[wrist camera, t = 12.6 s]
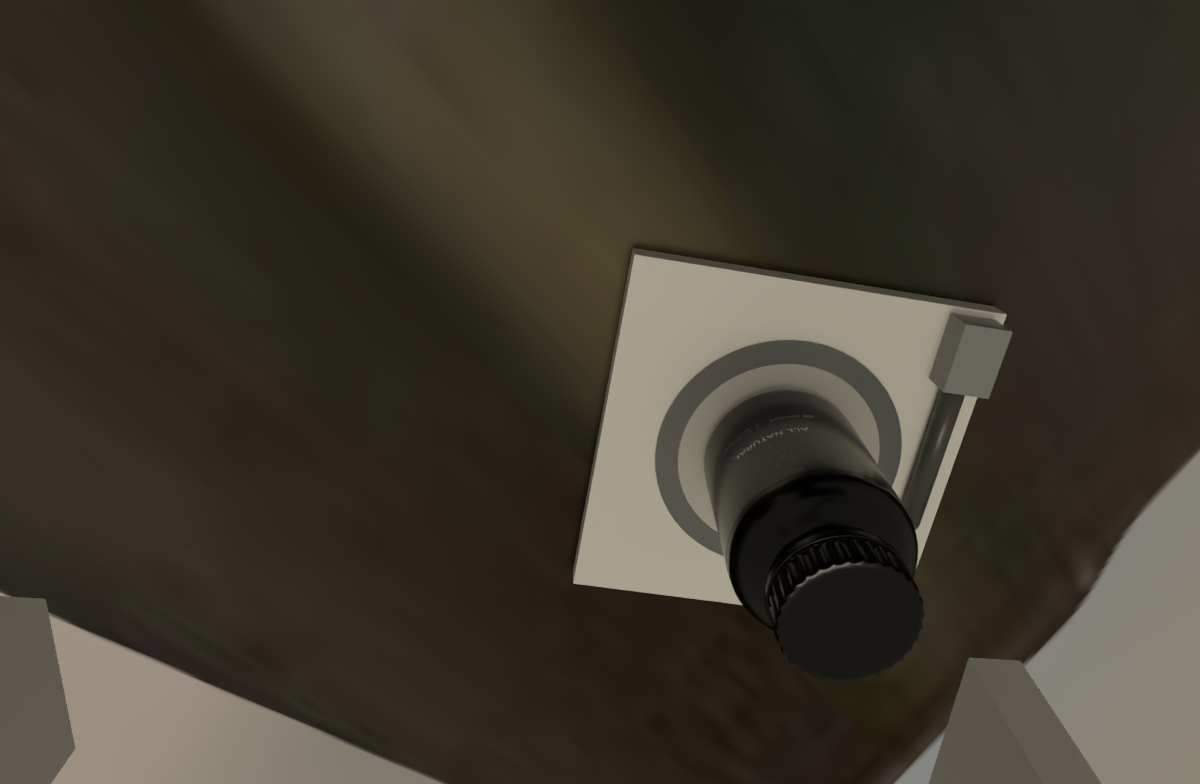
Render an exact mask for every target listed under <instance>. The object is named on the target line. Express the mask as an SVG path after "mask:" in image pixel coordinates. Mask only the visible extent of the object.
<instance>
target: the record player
mask: <svg viewBox="0 0 1200 784" xmlns="http://www.w3.org/2000/svg"><path fill="white" fill-rule="evenodd" d="M1006 315H1007V314H1005V313H1004V312H1002V311H1001V310H999V309H997V308H996V307H994V306H989V305H983V304H976V303H970V302H964V301H958V300H952V299H946V298H939V297H933V296H927V295H921V294H915V293H908V292H902V291H896V290H890V289H884V288H878V287H871V286H865V285H859V284H853V283H847V282H841V281H834V280H828V279H822V278H816V277H810V276H804V275H797V274H791V273H785V272H779V271H773V270H766V269H760V268H754V267H748V266H742V265H736V264H729V263H723V262H717V261H711V260H705V259H699V258H692V257H686V256H680V255H674V254H668V253H662V252H655V251H649V250H643V249H637V248H633V249H632V254H631V259H630V265H629V270H628V276H627V281H626V286H625V292H624V297H623V303H622V308H621V313H620V319H619V324H618V330H617V335H616V340H615V346H614V351H613V357H612V362H611V367H610V373H609V378H608V384H607V389H606V394H605V400H604V405H603V410H602V416H601V421H600V427H599V432H598V437H597V443H596V448H595V454H594V459H593V464H592V470H591V475H590V481H589V486H588V491H587V497H586V502H585V508H584V513H583V518H582V524H581V529H580V535H579V540H578V545H577V551H576V556H575V562H574V567H573V583H574V584H582V585H590V586H597V587H605V588H613V589H621V590H629V591H637V592H645V593H653V594H660V595H668V596H676V597H684V598H692V599H700V600H708V601H716V602H723V603H731V604H739V605H742V603H741V602H740V601H739V599H738V597H737V596H736V594H735V592H734V589H733V587H732V584H731V581H730V578H729V575H728V571H727V567H726V563H725V559H724V555H723V551H722V547H721V543H720V538H719V534H718V530H717V526H716V522H715V518H714V514H713V510H712V506H711V501H710V497H709V493H708V489H707V484H706V479H705V472H704V458H705V452H706V448H707V444H708V441H709V439H710V437H711V435H712V433H713V431H714V429H715V428H716V426H717V425H718V423H719V422H720V421H721V419H722V418H723V417H724V416H725V415H726V414H727V413H728V412H729V411H730V410H732V409H733V408H734V407H735V406H737V405H738V404H740V403H742V402H743V401H745V400H747V399H749V398H751V397H753V396H756V395H759V394H762V393H766V392H770V391H777V390H795V391H802V392H807V393H810V394H813V395H816V396H818V397H820V398H823V399H824V400H826V401H828V402H829V403H831V404H832V405H834V406H835V407H836V408H837V409H838V410H839V411H840V412H841V413H842V414H843V415H844V416H845V417H846V418H847V420H848V421H849V422H850V424H851V425H852V427H853V428H854V429H855V431H856V432H857V434H858V435H859V437H860V439H861V440H862V442H863V443H864V445H865V446H866V448H867V449H868V451H869V452H870V454H871V456H872V457H873V459H874V460H875V462H876V463H877V465H878V466H879V468H880V469H881V471H882V473H883V474H884V476H885V477H886V479H887V480H888V482H889V483H890V485H891V486H892V488H893V490H894V491H895V493H896V494H897V496H898V497H899V499H900V500H901V502H902V504H903V505H904V507H905V509H906V510H907V512H908V514H909V516H910V518H911V520H912V523H913V525H914V528H915V531H916V535H917V541H918V560H917V565H918V563H919V560H920V557H921V554H922V551H923V548H924V546H925V543H926V540H927V537H928V534H929V532H930V529H931V526H932V523H933V520H934V518H935V515H936V512H937V509H938V506H939V503H940V501H941V498H942V495H943V492H944V489H945V487H946V484H947V481H948V478H949V475H950V473H951V470H952V467H953V464H954V461H955V459H956V456H957V453H958V450H959V447H960V444H961V442H962V439H963V436H964V433H965V430H966V428H967V425H968V422H969V419H970V416H971V414H972V411H973V408H974V405H975V402H976V399H977V397H979V398H985V399H989V396H990V394H991V391H992V388H993V385H994V382H995V380H996V377H997V374H998V371H999V369H1000V366H1001V363H1002V360H1003V358H1004V355H1005V352H1006V349H1007V346H1008V344H1009V341H1010V338H1011V335H1012V333H1013V331H1011V330H1010V329H1008V328H1007V327H1005V326H1004V325H1003V324H1004V321H1005V318H1006ZM916 568H917V566H916Z"/></svg>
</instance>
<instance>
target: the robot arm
mask: <svg viewBox="0 0 1200 784" xmlns="http://www.w3.org/2000/svg"><path fill="white" fill-rule="evenodd" d="M74 750H75V745H74V740H73V735H72V730H71V725H70V720H69V715H68V710H67V704H66V700H65V694H64V689H63V684H62V679H61V674H60V669H59V664H58V660H57V654H56V649H55V644H54V639H53V634H52V629H51V624H50V619H49V614H48V609H47V604H46V599H36V598H21V597H5V596H0V784H51V783H52V781H53V780H54V778H55V777H56V775H57V774H58V773H59V771H60V770H61V768H62V767H63V765H64V764H65V763H66V761H67V760H68V758H69V757H70V755H71V754H72V752H73V751H74ZM929 784H1101V782H1100V781H1099V779H1098V778H1097V776H1096V775H1095V773H1094V772H1093V770H1092V769H1091V767H1090V766H1089V764H1088V763H1087V761H1086V760H1085V758H1084V757H1083V755H1082V754H1081V752H1080V751H1079V749H1078V748H1077V746H1076V745H1075V743H1074V742H1073V740H1072V739H1071V737H1070V736H1069V734H1068V733H1067V731H1066V730H1065V728H1064V726H1063V725H1062V723H1061V722H1060V720H1059V719H1058V717H1057V716H1056V714H1055V713H1054V711H1053V710H1052V708H1051V707H1050V705H1049V704H1048V702H1047V701H1046V699H1045V698H1044V696H1043V695H1042V693H1041V692H1040V690H1039V689H1038V687H1037V685H1036V684H1035V682H1034V681H1033V679H1032V678H1031V676H1030V675H1029V673H1028V672H1027V670H1026V669H1025V667H1024V666H1023V664H1022V663H1021V661H1013V660H998V659H982V658H969V659H968V662H967V666H966V669H965V672H964V675H963V678H962V681H961V684H960V687H959V691H958V694H957V697H956V700H955V703H954V706H953V709H952V713H951V716H950V719H949V722H948V725H947V728H946V731H945V735H944V738H943V741H942V744H941V747H940V750H939V753H938V757H937V760H936V763H935V766H934V769H933V772H932V776H931V779H930V782H929Z"/></svg>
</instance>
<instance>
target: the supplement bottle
mask: <svg viewBox="0 0 1200 784" xmlns="http://www.w3.org/2000/svg"><path fill="white" fill-rule="evenodd" d="M704 472H705V479H706V484H707V489H708V493H709V497H710V501H711V506H712V510H713V514H714V518H715V522H716V526H717V530H718V534H719V538H720V543H721V547H722V551H723V555H724V559H725V563H726V567H727V571H728V575H729V578H730V581H731V584H732V587H733V589H734V592H735V594H736V596H737V597H738V599H739V601H740V602H741V603H742V605H743V606H744V608H745V609H746V610H747V611H748V612H749V613H750V614H751V615H752V616H753V617H754V618H755V619H757V620H758V621H759V622H761V623H762V624H763V625H765V626H767V627H768V628H770V629H772V630H774V633H775V637H776V639H777V641H778V643H779V644H780V648H781V650H782V652H783V653H784V654H785V655H786V656H788V659H789V661H790V662H791V663H792V664H795V665H797V667H798V668H799V670H800V671H805V672H807V673H808V674H809V675H810V676H812V677H819V678H821V679H823V680H833V681H836V682H841V681H851V682H852V681H855V680H857V679H867V678H869V677H870V676H872V675H879V674H880V673H882V672H883V671H884V670H887V669H890V668H892V667H893V666H894V665H895V663H897V662H899V661H901V660H903V658H904V657H905V655H906V653H908V652H909V651H911V650H912V647H913V644H914V643H915V642H916V641H917V640H918V639H919V632H920V631H921V629H922V628H923V624H922V619H923V618H924V611H923V609H922V607H923V600H922V598H921V596H920V595H919V590H918V587H917V585H916V584H915V582H914V580H913V577H914V574H915V571H916V566H917V560H918V541H917V535H916V531H915V528H914V525H913V523H912V520H911V518H910V516H909V514H908V512H907V510H906V509H905V507H904V505H903V504H902V502H901V500H900V499H899V497H898V496H897V494H896V493H895V491H894V490H893V488H892V486H891V485H890V483H889V482H888V480H887V479H886V477H885V476H884V474H883V473H882V471H881V469H880V468H879V466H878V465H877V463H876V462H875V460H874V459H873V457H872V456H871V454H870V452H869V451H868V449H867V448H866V446H865V445H864V443H863V442H862V440H861V439H860V437H859V435H858V434H857V432H856V431H855V429H854V428H853V427H852V425H851V424H850V422H849V421H848V420H847V418H846V417H845V416H844V415H843V414H842V413H841V412H840V411H839V410H838V409H837V408H836V407H835V406H834V405H832V404H831V403H829V402H828V401H826V400H824V399H823V398H820V397H818V396H816V395H813V394H810V393H807V392H802V391H795V390H777V391H770V392H766V393H762V394H759V395H756V396H753V397H751V398H749V399H747V400H745V401H743V402H742V403H740V404H738V405H737V406H735V407H734V408H733V409H732V410H730V411H729V412H728V413H727V414H726V415H725V416H724V417H723V418H722V419H721V421H720V422H719V423H718V425H717V426H716V428H715V429H714V431H713V433H712V435H711V437H710V439H709V441H708V444H707V448H706V452H705V458H704Z"/></svg>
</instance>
